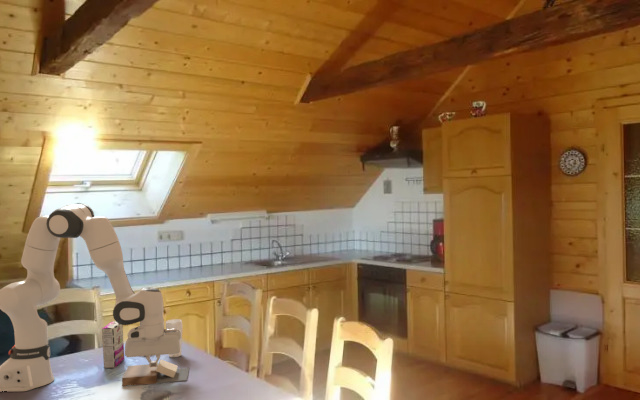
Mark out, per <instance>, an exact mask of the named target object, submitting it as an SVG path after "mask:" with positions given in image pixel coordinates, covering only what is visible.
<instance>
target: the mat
mask: <svg viewBox="0 0 640 400" xmlns="http://www.w3.org/2000/svg"><path fill="white" fill-rule="evenodd" d="M189 373H190V368H189V367H185V368H183V367H182V368H177V371H176V373H175V375H174V378H172V377H170V376H167V375H165V374H162V373H159V376H158V379H157V382H156V384H167V383H177V382H187V381H188V378H189V377H188V376H189Z"/></svg>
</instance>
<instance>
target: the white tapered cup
mask: <svg viewBox="0 0 640 400" xmlns="http://www.w3.org/2000/svg"><path fill="white" fill-rule="evenodd" d="M165 329H177V330H179V331H180V333H181V338H180V347H181V349H180V352H179V353H177V354H168V357H170V358H179V357H180V356H182V345H183V343H182V341H183V321H182V319H180V318H179V319H178V318H175V319H174V318H173V319H168V320H166V321H165Z"/></svg>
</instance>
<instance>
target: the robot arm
mask: <svg viewBox="0 0 640 400" xmlns="http://www.w3.org/2000/svg"><path fill="white" fill-rule="evenodd" d="M79 237H80V238H82V239H83V240H84V243H85V244H86V247H87V250H88V253H89V257H90V258H91V261H92V262H93V263H94V265H95V267H96V268H97V269H99V270H101V271H102V272H103V273H105V275H106V276H107V278H108V279H109V280H108V281H109V282H110V285H111V287H112V289H113V293H114V295H115V304H114V307H113V310H112V317H113V319H114V321H116V322H117V323H119V324H121V325H123V326H128V325H133V324H137V323H139V326H136V327H133V328H131V329H129V331H128V332H127V339H126V341H125V343H124V344H125V346H124V357H125V356H126V358H137V357H145V359H146V361H147V362H148V364H149V367H157V366H158V364H159V361H160V359H161V355H162V356H163V355H164V356H165V355H169V354H177V353H179V352H180V349H181V350H182V347H180V338H181V333H180V331H179V330H177V329H166V328H165V320H164V311H165V310H164V309H165V308H164V297H163V293H162V291H161V290H159V289H158V288H156V287H148V286H147V287H142V288H140V289H139V290H138V291H137V292H135V291H134V290H133V289H132V287H131V283H130V281H129V278H128V275H127V274H126V273H127V272H126V271H125V265H124V257H123V251H122V247H121V244H120V240H119V238H118V235H117V232H116V231H115V228H114V227H113V225H112V223H111V221H110V220H109V219H108V218H107V217H105V216H102V215H100V216H99V215H97V216H95V213H94V210H93V209H92V208H91V207H90V206H89V205H87V204H85V203H78V202H77V203H74V204H68V205H67V204H66V205H65V206H63V207H60V208H58V209H55V210H53V211H52V212H51V213H50V214H49V215H41V216H38V217H36V218H35V219H34V220H33V221H32V223H31V226H30V228H29V231H28V233H27V236H26V240H25V243H24V247H23V251H22V256H21V259H20V261H21V262H20V264H21V266H22V267H23V268H24V269H26V271H27V273H26V274H27V275H26V278H25V279H23V280H20V281H15V282H11V283H9V284H7V285H5V286H3V287H2V288H0V310H1V311H2V312H3V313H5V315H7V316H8V317H9V319H10V321H11V323H12V326H13V331H14V332H13V334H14V335H13V336H14V345H13V346H12V347H11V348H10V349H9V351H8V356H9V358H7V360H5V361H3V363H2V364H0V392H2V391H3V392H2V393H4V391H7V392H27V391H28V392H29V391H31V390H33V389H36V388H39V387H43V386H46V385H48V384H51V383H52V382H53V381H55V377H54V374H53V370H52V365H51V360H50V357H51V345H50V342H49V333H48V331H49V329H48V327H49V326H48V322H47V321H46V320H45V319H43V318H42V317H40V315H39V314H38V313H39V312H38V310H37V308H39V307H42V306H45V305H48V304H50V303H51V302H53V301H54V300H56V299H57V298H59V295H60V293H61V285H60V282H59V281H58V280H57V278H55V273H54V272H55V271H54V269H55V261H56V257H57V253H58V248H59V244H60V241H61V239H71V238H72V239H77V238H79ZM151 356H155V359H156V360H151Z"/></svg>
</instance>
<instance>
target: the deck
mask: <svg viewBox="0 0 640 400" xmlns="http://www.w3.org/2000/svg"><path fill="white" fill-rule="evenodd" d="M157 367H158V366H157ZM157 367H149V363H148V364H147V363H146V364H137V365H128V366H127V368H126V369H125V372H124V373H123V375H122V377H121V382H122V383H121V387H127V386H126V385H131V386H139V385H140V386H142V385H151V384H152V385H155V384H157V383H156V382H157V379H158V376H159V372H157V371H156V369H157Z"/></svg>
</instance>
